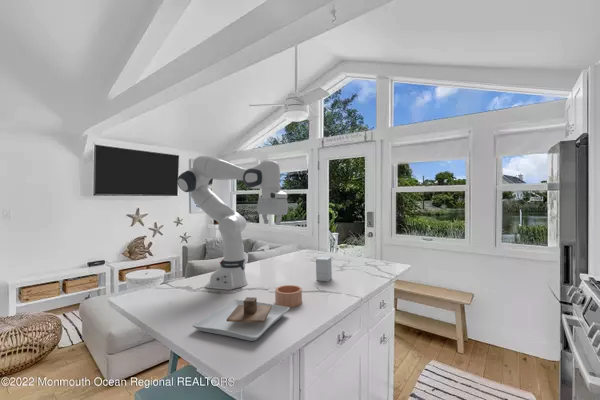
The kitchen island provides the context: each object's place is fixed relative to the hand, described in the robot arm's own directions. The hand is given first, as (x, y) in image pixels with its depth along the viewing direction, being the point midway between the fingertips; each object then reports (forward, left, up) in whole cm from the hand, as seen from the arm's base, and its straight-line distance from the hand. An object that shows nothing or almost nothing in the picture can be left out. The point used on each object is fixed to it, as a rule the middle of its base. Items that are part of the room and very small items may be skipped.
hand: (271, 224), depth 133 cm
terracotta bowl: (+8, -2, -36) cm, 37 cm away
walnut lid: (-5, -24, -33) cm, 40 cm away
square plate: (-7, -24, -37) cm, 44 cm away
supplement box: (+24, +35, -36) cm, 56 cm away
